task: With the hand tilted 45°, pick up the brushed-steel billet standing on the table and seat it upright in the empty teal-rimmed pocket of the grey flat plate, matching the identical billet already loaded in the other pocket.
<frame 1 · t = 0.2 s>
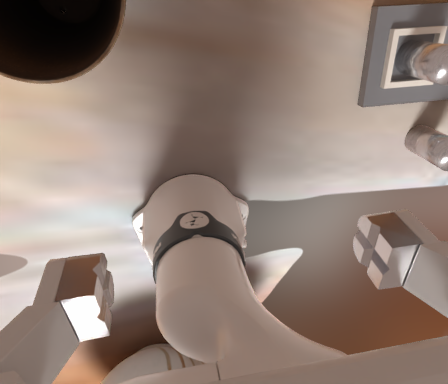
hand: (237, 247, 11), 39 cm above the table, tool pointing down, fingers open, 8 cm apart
decorative bowl: (159, 362, 72), on the table
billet: (417, 138, 56), on the table
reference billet: (410, 57, 48), point 1 cm above the table, touching grey flat plate
grey flat plate: (438, 53, 50), on the table
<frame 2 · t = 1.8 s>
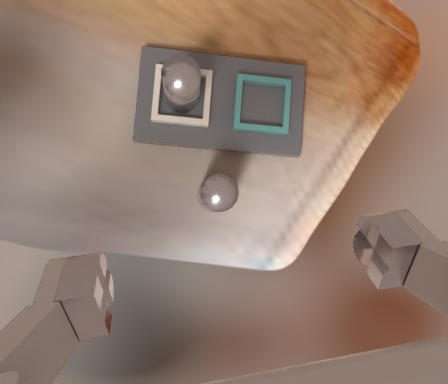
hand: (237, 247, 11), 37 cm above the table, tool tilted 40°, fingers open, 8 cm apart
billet: (214, 195, 48), on the table
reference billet: (182, 97, 47), point 2 cm above the table, touching grey flat plate
grey flat plate: (221, 104, 49), on the table
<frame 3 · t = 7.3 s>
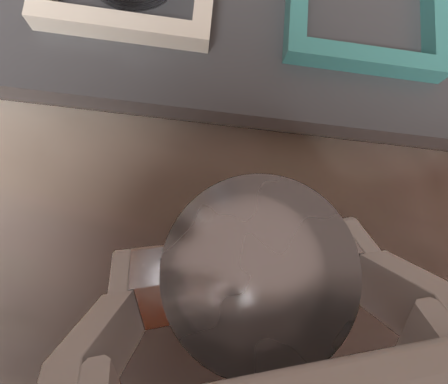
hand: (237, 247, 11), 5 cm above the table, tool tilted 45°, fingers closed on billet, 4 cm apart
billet: (225, 263, 15), on the table, touching gripper
grey flat plate: (245, 8, 18), on the table
when the fingers open (8 cm above the table, at t = 12.6 s): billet drops 2 cm, resting on grey flat plate.
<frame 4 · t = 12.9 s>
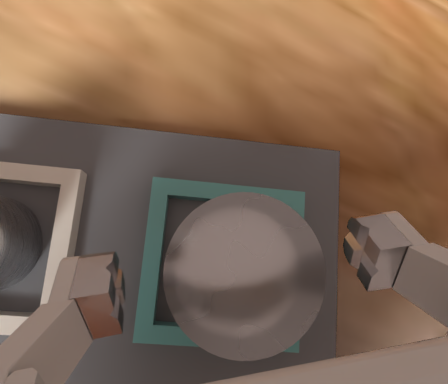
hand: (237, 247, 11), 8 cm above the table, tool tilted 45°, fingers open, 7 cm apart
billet: (220, 264, 17), point 2 cm above the table, touching grey flat plate
grey flat plate: (117, 253, 18), on the table
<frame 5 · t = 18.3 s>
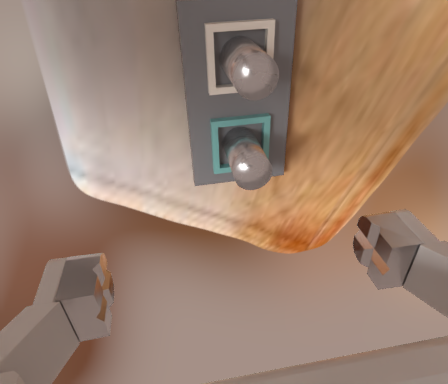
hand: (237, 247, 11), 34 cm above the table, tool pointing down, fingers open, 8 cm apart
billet: (238, 142, 46), point 1 cm above the table, touching grey flat plate
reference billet: (239, 57, 40), point 2 cm above the table, touching grey flat plate
grey flat plate: (237, 98, 44), on the table
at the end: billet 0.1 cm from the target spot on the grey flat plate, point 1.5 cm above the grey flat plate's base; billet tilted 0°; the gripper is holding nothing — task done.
